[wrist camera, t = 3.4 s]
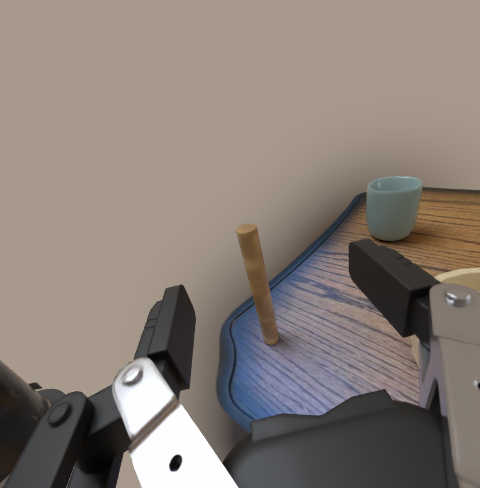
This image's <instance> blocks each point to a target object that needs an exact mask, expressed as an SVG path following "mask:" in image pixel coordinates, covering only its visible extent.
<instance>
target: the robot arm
mask: <svg viewBox="0 0 480 488" xmlns="http://www.w3.org/2000/svg"><path fill="white" fill-rule="evenodd" d="M349 273H350V276H351V279H352V280H353V282H354V283H355V284H356V285H357V286H358V288H359V289H360V290H361V291H362V292H363V293H364V294H365V295H366V297H367V298H368V299H369V300H370V301H371V302H372V303H373V305H374V306H375V307H376V308H377V309H378V310H379V311H380V312H381V314H382V315H383V316H384V317H385V318H386V319H387V320H388V321H389V323H390V324H391V325H392V326H393V327H394V328H395V329H396V330H397V332H398V333H399V334H400V335H401V336H402V337H403V338H404V337H408V336H412V335H416V336H417V337H418V339H419V343H418V352H419V380H420V395H419V405H418V406H417V405H414V404H410V403H407V402H402V401H396V400H392V399H391V397H390V396H389V394H388V393H387V391H386V390H385V389H383V390H379V391H375V392H370V393H366V394H362V395H358V396H354V397H351V398H349V399H348V400H346V401H344V402H343V403H341V404H339V405H338V406H336V407H335V408H333V409H331V410H330V411H328V412H326V413H325V414H323V415H319V416H315V415H299V414H279V415H274V416H270V417H266V418H262V419H258V420H253V421H250V428H251V433H250V434H249V435H247V436H245V437H244V438H243V439H242V440H241V441H239V443H237V444H236V445H235V446H234V448H233V449H232V450H231V451H230V452H229V454H228V455H227V456H226V458H225V459H224V461H223V463H221V462H220V460H219V459H218V457H217V456H216V454H215V453H214V451H213V450H212V448H211V447H210V445H209V444H208V442H207V441H206V440H205V438H204V437H203V436H202V434H201V432H200V431H199V429H198V428H197V426H196V425H195V424H194V422H193V420H192V419H191V417H190V416H189V415H188V414H187V412H186V410H185V409H184V407H183V406H182V404H181V403H180V401H179V394H180V391H181V390H186V389H189V388H190V377H191V366H192V355H193V345H194V333H195V323H196V317H195V311H194V308H193V306H192V303H191V301H190V299H189V297H188V294H187V292H186V290H185V288H184V286H183V285H178V286H174V287H170V288H166V289H165V292H164V296H163V299H162V301H158V302H156V304H155V305H154V306H153V308H152V309H151V310H150V312H149V316H148V318H147V322H146V324H145V327H144V330H143V333H142V336H141V339H140V342H139V345H138V348H137V351H136V353H135V356H134V359H133V361H131V362H129V363H128V364H126V365H125V366H124V367H123V368H122V369H121V370H120V371H119V372H118V374H117V375H116V377H115V379H114V381H113V383H112V385H110V386H108V387H107V388H105V389H103V390H101V391H99V392H98V393H96V394H94V395H92V396H90V397H88V398H87V397H86V396H85V395H84V394H83V393H82V392H79V391H77V392H71V393H69V394H66V395H65V396H63V397H61V398H60V399H58V400H57V401H56V402H55V403H54V404H52V403H51V402H50V401H49V400H48V399H47V398H45V397H44V396H41V395H40V394H39V393H38V392H37V391H35V389H41V388H42V387H41V386H40V385H38V384H37V383H31V384H27V383H26V382H25V381H24V380H23V379H22V378H20V377H19V376H18V375H17V374H16V373H15V372H13V371H12V370H11V369H10V368H9V367H8V366H6V365H5V364H4V363H3V362H2V361H0V488H66V487H67V488H116V484H117V479H118V475H119V471H120V466H121V462H122V458H123V453H124V452H125V451H127V450H129V453H130V456H131V459H132V462H133V465H134V467H135V470H136V473H137V475H138V478H139V481H140V483H141V486H142V488H480V293H479V292H477V291H476V290H474V289H471V288H469V287H466V286H463V285H459V284H453V283H441V282H440V281H438V280H437V279H436V278H434V277H433V276H431V275H430V274H428V273H427V272H426V271H424V270H423V269H421V268H420V267H418V266H417V265H415V264H412V262H411V261H410V260H408V259H407V258H404V256H403V255H401V254H400V253H398V252H397V251H395V250H393V249H390V248H387V247H385V246H378V245H377V244H375V243H374V242H373V241H371V240H370V239H368V238H366V239H362V240H358V241H354V242H351V243H350V244H349ZM74 466H75V467H74ZM73 468H74V469H73ZM72 470H73V472H72ZM71 473H72V475H71ZM70 476H71V477H70ZM69 478H70V480H69ZM68 481H69V483H68ZM67 484H68V486H67Z"/></svg>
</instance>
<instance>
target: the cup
mask: <svg viewBox="0 0 480 488" xmlns="http://www.w3.org/2000/svg"><path fill="white" fill-rule="evenodd" d="M422 184H423V183H422V181H421V180H420V179H418V178H415V177H407V176H394V177H385V178H380V179H376V180H373V181H372V182H370V183H369V184H368V188H367V200H366V221H367V227H368V230H369V232H370V233H371V235H372V236H373V237H375V238H377V239H380V240H384V241H397V240H401V239H404V238H405V237H407V236H408V235H409V234H410V233H411V231H412V230H413V228H414V225H415V222H416V219H417V215H418V211H419V206H420V200H421V194H422V187H423V185H422Z"/></svg>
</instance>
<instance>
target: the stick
mask: <svg viewBox="0 0 480 488" xmlns="http://www.w3.org/2000/svg"><path fill="white" fill-rule="evenodd" d="M236 233H237V237H238V240H239V244H240V248H241V252H242V256H243V260H244V264H245V268H246V272H247V275H248V279H249V283H250V287H251V291H252V295H253V299H254V303H255V307H256V311H257V315H258V318H259V322H260V326H261V330H262V334H263V338H264V341H265V342H266V343H267V344H269V345H274V344H276V343H277V342H278V341H279V333H278V328H277V323H276V318H275V314H274V309H273V304H272V299H271V294H270V289H269V284H268V280H267V275H266V270H265V265H264V261H263V255H262V251H261V246H260V241H259V237H258V231H257V226H256V225H255V224H244V225H241V226H239V227H238V228H237V229H236Z"/></svg>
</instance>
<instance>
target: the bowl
mask: <svg viewBox="0 0 480 488" xmlns="http://www.w3.org/2000/svg"><path fill="white" fill-rule="evenodd" d="M434 278H436V279H437V280H438V281H440V282H441V283H453V284H459V285H463V286H466V287H469V288H471V289H474V290H476V291H477V292H479V293H480V268H466V269H458V270H454V271H450V272H447V273H443V274H439V275H437V276H436V277H434ZM418 343H419V339H418V337H417V336H416V335H412V336H410V344H411V353H412V355H413V357H414V359H415V361H416V363H417V365H418V367H419V352H418Z"/></svg>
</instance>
